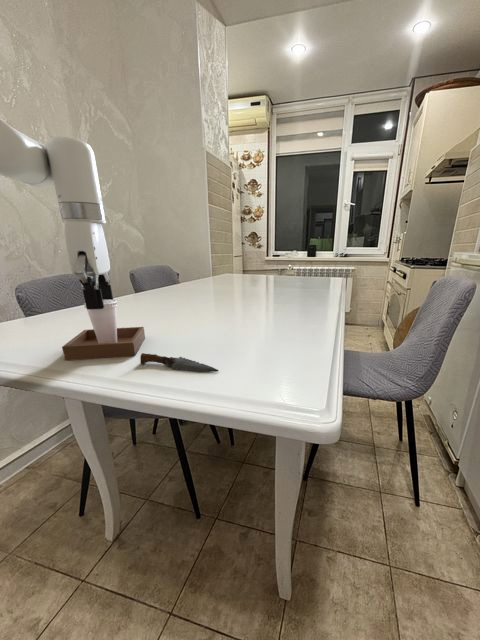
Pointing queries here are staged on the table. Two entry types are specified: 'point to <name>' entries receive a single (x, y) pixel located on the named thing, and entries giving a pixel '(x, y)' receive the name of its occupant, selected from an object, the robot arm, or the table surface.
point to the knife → (177, 363)
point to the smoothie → (104, 321)
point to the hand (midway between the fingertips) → (100, 304)
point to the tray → (104, 344)
